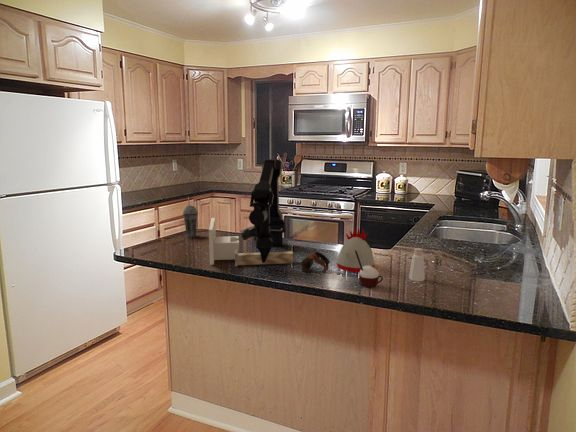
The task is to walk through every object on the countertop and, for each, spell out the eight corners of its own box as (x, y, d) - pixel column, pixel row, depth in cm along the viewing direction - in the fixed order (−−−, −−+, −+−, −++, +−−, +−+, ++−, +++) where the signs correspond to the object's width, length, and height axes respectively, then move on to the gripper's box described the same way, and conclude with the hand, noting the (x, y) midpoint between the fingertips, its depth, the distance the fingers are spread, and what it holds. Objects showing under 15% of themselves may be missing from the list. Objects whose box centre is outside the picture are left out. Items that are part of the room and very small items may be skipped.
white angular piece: (238, 248, 187) (238, 217, 185) (239, 263, 164) (239, 228, 161) (212, 248, 186) (211, 217, 183) (209, 264, 162) (208, 229, 160)
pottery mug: (308, 266, 162) (319, 249, 160) (324, 282, 157) (336, 264, 155) (290, 266, 153) (301, 248, 150) (307, 282, 147) (319, 264, 145)
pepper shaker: (418, 282, 143) (420, 251, 141) (405, 278, 147) (407, 248, 145) (428, 279, 146) (430, 249, 144) (415, 275, 150) (416, 245, 148)
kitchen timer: (371, 273, 152) (373, 233, 150) (334, 270, 156) (335, 231, 154) (375, 263, 166) (376, 226, 163) (340, 260, 169) (341, 223, 167)
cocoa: (382, 285, 141) (386, 250, 139) (379, 290, 136) (383, 255, 134) (354, 280, 145) (357, 247, 143) (350, 285, 139) (353, 250, 137)
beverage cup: (201, 235, 211) (200, 196, 208) (192, 238, 205) (191, 198, 201) (190, 234, 214) (188, 195, 211) (180, 237, 208) (179, 197, 204)
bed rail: (291, 259, 170) (291, 247, 169) (294, 264, 164) (294, 252, 163) (235, 261, 167) (234, 249, 166) (235, 266, 161) (235, 254, 160)
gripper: (240, 216, 170) (241, 253, 173) (242, 225, 152) (242, 267, 155) (268, 215, 171) (268, 252, 174) (272, 224, 153) (272, 265, 156)
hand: (262, 259), depth 165 cm, fingers open, 9 cm apart
